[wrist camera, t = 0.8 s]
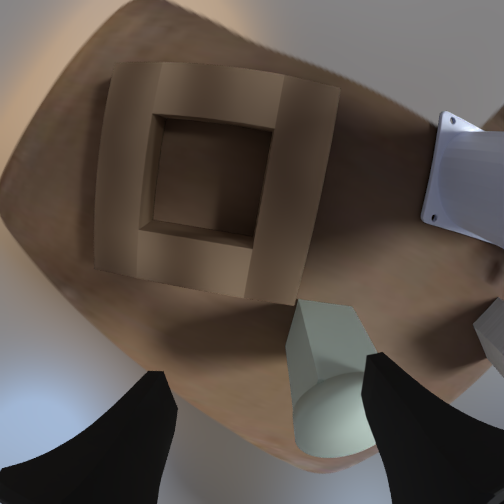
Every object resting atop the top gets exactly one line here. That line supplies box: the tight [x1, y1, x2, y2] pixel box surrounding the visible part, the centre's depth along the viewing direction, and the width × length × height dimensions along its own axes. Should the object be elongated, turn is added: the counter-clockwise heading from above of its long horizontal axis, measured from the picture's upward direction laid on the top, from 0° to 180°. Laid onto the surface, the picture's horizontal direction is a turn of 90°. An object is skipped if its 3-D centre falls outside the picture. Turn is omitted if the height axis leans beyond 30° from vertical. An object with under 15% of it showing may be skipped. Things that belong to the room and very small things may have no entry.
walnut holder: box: [94, 62, 341, 306], centre depth 16 cm, size 12×12×2 cm
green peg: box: [285, 299, 377, 458], centre depth 16 cm, size 5×5×10 cm
